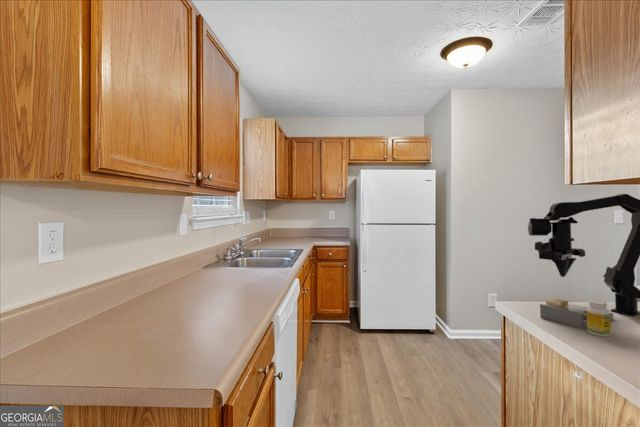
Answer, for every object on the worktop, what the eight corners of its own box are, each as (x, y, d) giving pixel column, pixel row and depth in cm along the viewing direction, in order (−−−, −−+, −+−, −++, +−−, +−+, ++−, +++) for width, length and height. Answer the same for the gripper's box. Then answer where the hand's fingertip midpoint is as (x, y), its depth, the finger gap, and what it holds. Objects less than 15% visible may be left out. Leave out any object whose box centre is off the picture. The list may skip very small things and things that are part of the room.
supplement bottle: (590, 328, 99) (589, 298, 99) (613, 333, 94) (612, 301, 94) (584, 332, 96) (583, 301, 96) (607, 338, 91) (606, 305, 91)
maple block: (554, 309, 112) (554, 298, 112) (568, 312, 108) (568, 301, 108) (546, 311, 110) (546, 299, 110) (560, 314, 106) (560, 303, 106)
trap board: (571, 309, 118) (571, 297, 118) (613, 319, 106) (612, 305, 106) (540, 316, 110) (540, 304, 110) (581, 328, 99) (581, 314, 99)
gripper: (553, 233, 130) (555, 270, 130) (524, 235, 123) (525, 275, 123) (585, 234, 120) (586, 275, 120) (555, 237, 112) (556, 281, 112)
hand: (562, 276), depth 119 cm, fingers closed
